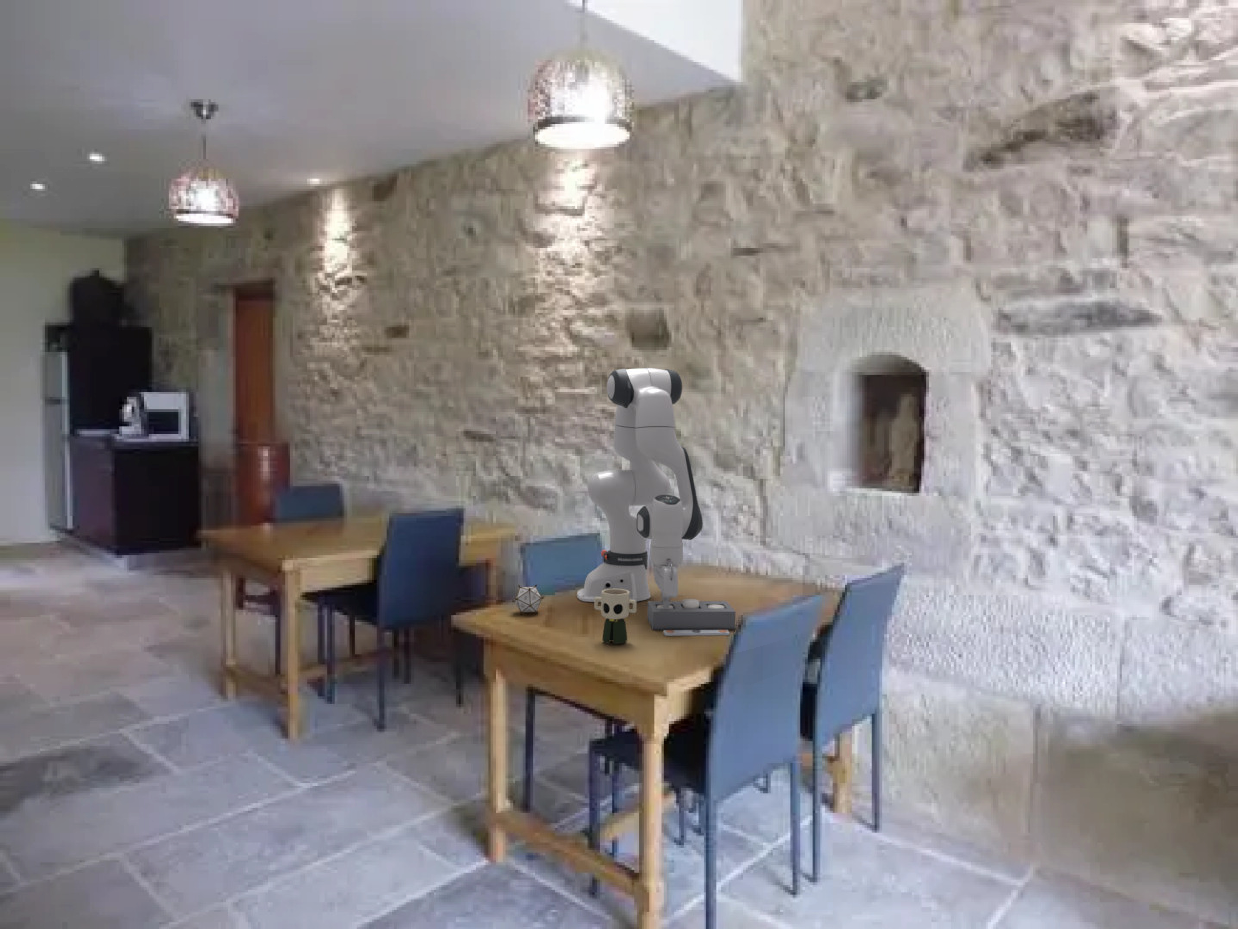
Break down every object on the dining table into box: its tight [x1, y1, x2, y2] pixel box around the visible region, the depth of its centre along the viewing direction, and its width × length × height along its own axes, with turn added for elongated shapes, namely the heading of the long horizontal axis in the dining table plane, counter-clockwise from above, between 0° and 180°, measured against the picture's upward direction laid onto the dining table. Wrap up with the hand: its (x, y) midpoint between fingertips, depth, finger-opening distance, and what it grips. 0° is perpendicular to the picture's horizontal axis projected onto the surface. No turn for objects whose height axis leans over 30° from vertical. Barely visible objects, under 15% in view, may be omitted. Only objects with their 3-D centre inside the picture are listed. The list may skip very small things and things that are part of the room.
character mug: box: [593, 589, 638, 645], centre depth 223 cm, size 11×7×13 cm, turn 75°
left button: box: [657, 605, 673, 609], centre depth 242 cm, size 4×4×3 cm
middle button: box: [682, 598, 700, 609], centre depth 242 cm, size 4×4×3 cm
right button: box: [708, 605, 724, 608], centre depth 243 cm, size 4×4×3 cm
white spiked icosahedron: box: [511, 584, 545, 615], centre depth 251 cm, size 9×8×10 cm
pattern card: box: [662, 630, 731, 637], centre depth 233 cm, size 17×3×1 cm, turn 95°
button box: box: [646, 600, 736, 631], centre depth 242 cm, size 22×12×5 cm, turn 95°
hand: (665, 606), depth 241 cm, fingers closed, pressing on left button
